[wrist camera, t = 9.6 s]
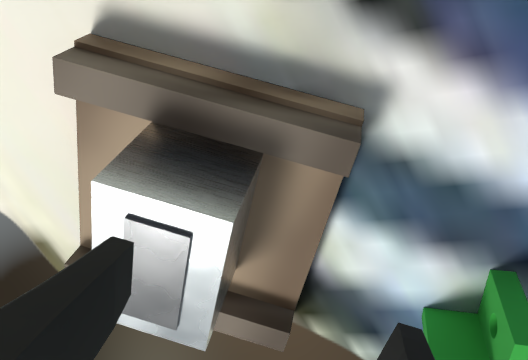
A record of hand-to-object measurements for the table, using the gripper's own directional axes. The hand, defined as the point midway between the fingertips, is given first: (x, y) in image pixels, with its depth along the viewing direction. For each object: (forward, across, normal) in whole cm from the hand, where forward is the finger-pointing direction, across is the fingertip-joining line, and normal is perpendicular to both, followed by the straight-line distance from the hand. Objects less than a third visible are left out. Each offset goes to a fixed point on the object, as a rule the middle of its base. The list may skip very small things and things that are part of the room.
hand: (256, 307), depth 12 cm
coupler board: (+9, +4, +4) cm, 11 cm away
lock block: (+8, +4, +4) cm, 10 cm away
